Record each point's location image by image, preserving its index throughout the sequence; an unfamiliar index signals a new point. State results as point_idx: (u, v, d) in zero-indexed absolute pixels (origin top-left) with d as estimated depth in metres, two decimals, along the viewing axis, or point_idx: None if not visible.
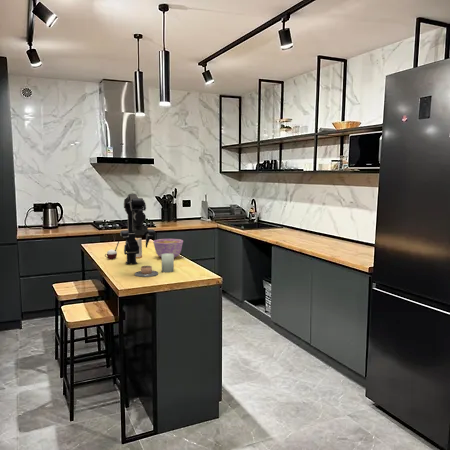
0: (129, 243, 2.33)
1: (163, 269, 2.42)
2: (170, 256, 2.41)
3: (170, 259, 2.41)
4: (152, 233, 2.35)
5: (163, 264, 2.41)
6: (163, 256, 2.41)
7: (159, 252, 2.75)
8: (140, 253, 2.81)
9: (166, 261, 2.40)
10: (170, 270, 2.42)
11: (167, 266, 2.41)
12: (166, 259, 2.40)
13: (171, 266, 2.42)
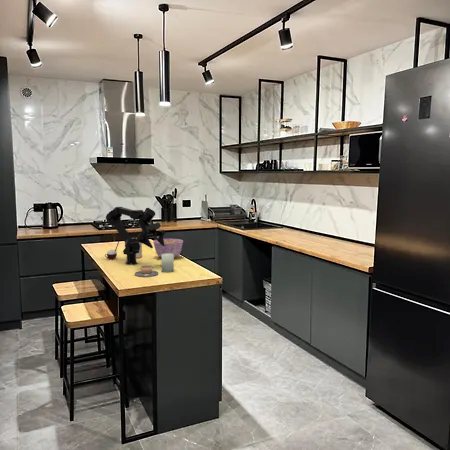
0: None
1: (163, 269, 2.42)
2: (170, 256, 2.41)
3: (170, 259, 2.41)
4: (163, 231, 2.55)
5: (163, 264, 2.41)
6: (163, 256, 2.41)
7: (159, 252, 2.75)
8: (140, 253, 2.81)
9: (166, 261, 2.40)
10: (170, 270, 2.42)
11: (167, 266, 2.41)
12: (166, 259, 2.40)
13: (171, 266, 2.42)
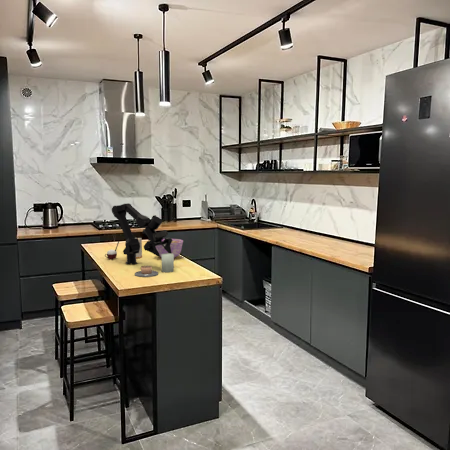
0: (157, 251, 2.41)
1: (163, 269, 2.42)
2: (170, 256, 2.41)
3: (170, 259, 2.41)
4: (170, 239, 2.52)
5: (163, 264, 2.41)
6: (163, 256, 2.41)
7: (159, 252, 2.75)
8: (140, 253, 2.81)
9: (166, 261, 2.40)
10: (170, 270, 2.42)
11: (167, 266, 2.41)
12: (166, 259, 2.40)
13: (171, 266, 2.42)
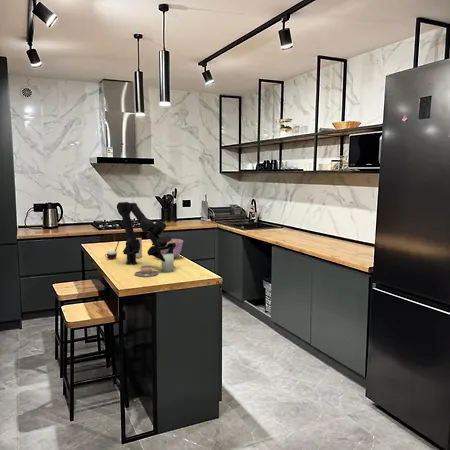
0: (162, 255, 2.40)
1: (163, 269, 2.42)
2: (170, 256, 2.41)
3: (170, 259, 2.41)
4: (174, 244, 2.50)
5: (163, 264, 2.41)
6: (163, 256, 2.41)
7: None
8: (140, 253, 2.81)
9: (166, 261, 2.40)
10: (170, 270, 2.42)
11: (167, 266, 2.41)
12: (166, 259, 2.40)
13: (171, 266, 2.42)
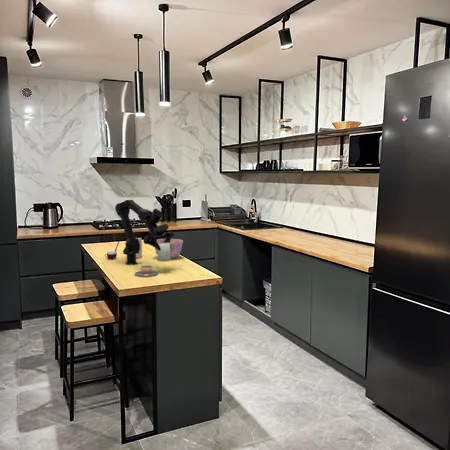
0: (158, 244, 2.38)
1: (159, 258, 2.39)
2: (166, 245, 2.38)
3: (166, 248, 2.38)
4: (171, 233, 2.47)
5: (159, 253, 2.39)
6: (159, 245, 2.38)
7: None
8: (140, 253, 2.81)
9: (161, 250, 2.38)
10: (166, 259, 2.39)
11: (162, 255, 2.38)
12: (162, 248, 2.37)
13: (167, 255, 2.39)
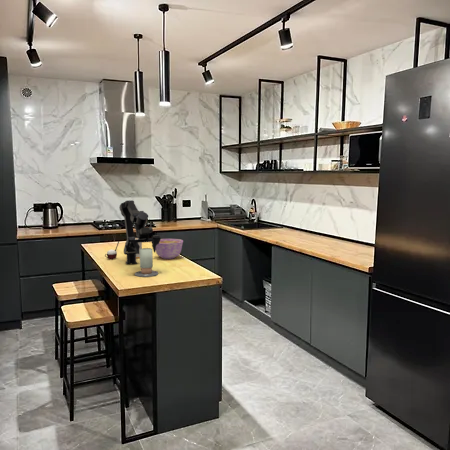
0: (137, 247, 2.32)
1: (140, 264, 2.34)
2: (146, 251, 2.31)
3: (146, 254, 2.32)
4: (157, 236, 2.39)
5: (140, 259, 2.34)
6: (140, 251, 2.33)
7: (159, 252, 2.75)
8: None
9: (142, 256, 2.32)
10: (146, 266, 2.32)
11: (142, 261, 2.32)
12: (142, 254, 2.32)
13: (147, 262, 2.32)
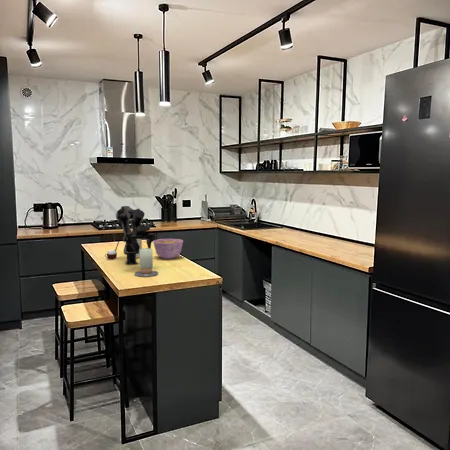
0: (134, 244, 2.40)
1: (140, 264, 2.34)
2: (146, 251, 2.31)
3: (146, 254, 2.32)
4: (153, 235, 2.49)
5: (140, 259, 2.34)
6: (140, 251, 2.33)
7: (159, 252, 2.75)
8: None
9: (142, 256, 2.32)
10: (146, 266, 2.32)
11: (142, 261, 2.32)
12: (142, 254, 2.32)
13: (147, 262, 2.32)
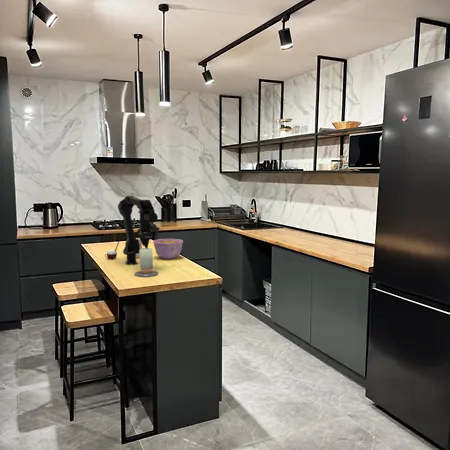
0: None
1: (140, 264, 2.34)
2: (146, 251, 2.31)
3: (146, 254, 2.32)
4: None
5: (140, 259, 2.34)
6: (140, 251, 2.33)
7: (159, 252, 2.75)
8: None
9: (142, 256, 2.32)
10: (146, 266, 2.32)
11: (142, 261, 2.32)
12: (142, 254, 2.32)
13: (147, 262, 2.32)
